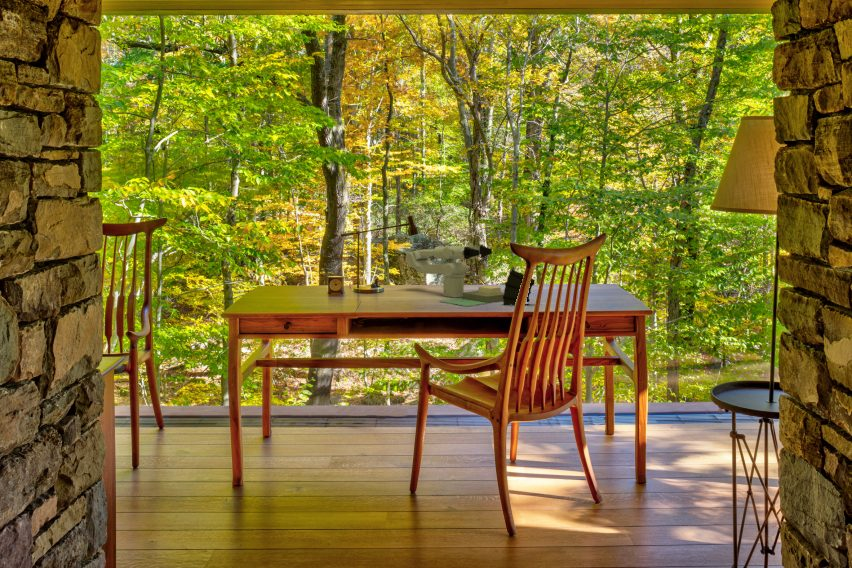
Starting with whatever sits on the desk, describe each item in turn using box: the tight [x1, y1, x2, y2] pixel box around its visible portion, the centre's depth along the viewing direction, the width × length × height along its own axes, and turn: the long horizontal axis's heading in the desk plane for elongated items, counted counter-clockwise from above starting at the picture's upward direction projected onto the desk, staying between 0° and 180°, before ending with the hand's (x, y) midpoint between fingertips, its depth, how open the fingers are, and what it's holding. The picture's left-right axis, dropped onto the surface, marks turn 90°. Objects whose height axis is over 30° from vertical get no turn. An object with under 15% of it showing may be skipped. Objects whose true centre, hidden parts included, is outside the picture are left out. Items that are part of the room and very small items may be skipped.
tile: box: [477, 285, 502, 294], centre depth 353 cm, size 8×6×2 cm
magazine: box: [502, 268, 536, 306], centre depth 338 cm, size 4×13×15 cm, turn 84°
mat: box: [439, 297, 488, 308], centre depth 344 cm, size 18×12×1 cm, turn 40°
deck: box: [462, 290, 504, 304], centre depth 352 cm, size 16×14×3 cm
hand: (485, 252), depth 346 cm, fingers open, 7 cm apart
